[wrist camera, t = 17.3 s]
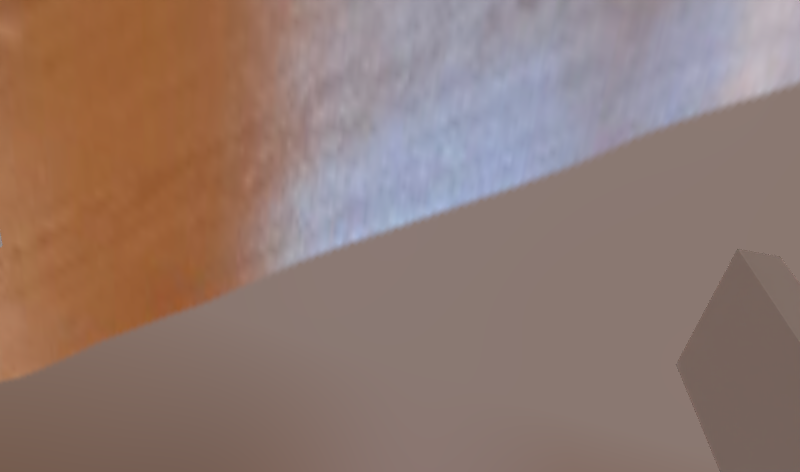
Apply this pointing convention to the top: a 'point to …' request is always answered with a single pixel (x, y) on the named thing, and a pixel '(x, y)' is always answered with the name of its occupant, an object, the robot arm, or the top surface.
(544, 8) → the top surface
